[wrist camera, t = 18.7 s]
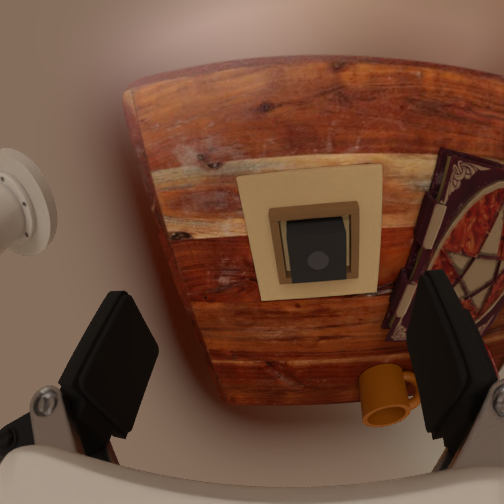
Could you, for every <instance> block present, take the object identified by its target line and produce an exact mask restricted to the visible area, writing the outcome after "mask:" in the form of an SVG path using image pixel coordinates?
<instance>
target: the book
mask: <svg viewBox="0 0 504 504" xmlns="http://www.w3.org/2000/svg"><path fill="white" fill-rule="evenodd" d="M414 235H415V241H414V244H413V247H412V250H411V253H410V256H409V259H408V262H407V264H406V267H405V268H402V269H401V271H400V274H399V276H398V279H397V282H396V284H395V287H394V290H393V292H392V295H391V297H390V300H389V301H390V308H389V310H388V313H387V315H386V317H385V320H384V322H383V324H382V326H381V328H382V329H390V331H389V333H388V335H387V337H386V339H385V342H401V341H406V334H407V330H408V326H409V322H410V318H411V313H412V309H413V304H414V300H415V295H416V290H417V285H418V280H419V277H420V276H424V273H425V271H427V270H436V269H443V270H444V271H445V273H446V275H447V276H448V278H449V280H450V282H451V284H452V286H453V288H454V290H455V292H456V294H457V296H458V298H459V300H460V302H461V304H462V306H463V308H466V309H468V310H469V312H470V313H471V315H472V317H473V320H474V322H475V324H476V326H477V328H478V330H479V333H480V335H481V337H482V338H483V336H484V335H485V333H486V332H487V330H488V329H489V327H490V326H491V324H492V323H493V321H494V319H495V318H496V316H497V315H498V313H499V311H500V310H501V308H502V306H503V305H504V164H500V163H497V162H494V161H490V160H487V159H484V158H480V157H476V156H473V155H469V154H465V153H461V152H457V151H453V150H449V149H445V148H441V147H440V152H439V156H438V161H437V165H436V169H435V173H434V177H433V181H432V185H431V188H430V192H429V191H427V192H425V196H424V199H423V203H422V206H421V210H420V213H419V217H418V220H417V223H416V227H415V230H414Z"/></svg>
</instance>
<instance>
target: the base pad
mask: <svg viewBox="0 0 504 504" xmlns="http://www.w3.org/2000/svg"><path fill="white" fill-rule="evenodd" d="M237 184H238V189H239V194H240V199H241V204H242V208H243V213H244V218H245V223H246V228H247V232H248V237H249V242H250V247H251V252H252V256H253V261H254V266H255V271H256V276H257V280H258V285H259V290H260V295H261V300H262V301H267V300H283V299H298V298H312V297H326V296H338V295H350V294H361V293H371V292H377V283H378V272H379V259H380V244H381V225H382V165H381V164H380V163H378V164H360V165H345V166H331V167H319V168H308V169H297V170H287V171H277V172H268V173H260V174H251V175H243V176H237ZM339 216H342V218H343V222H344V226H345V229H346V240H347V277H346V280H334V281H322V282H309V283H295V284H292V279H291V271H290V263H289V255H288V247H287V240H286V228H287V221H292V220H303V219H315V218H327V217H339Z"/></svg>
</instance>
